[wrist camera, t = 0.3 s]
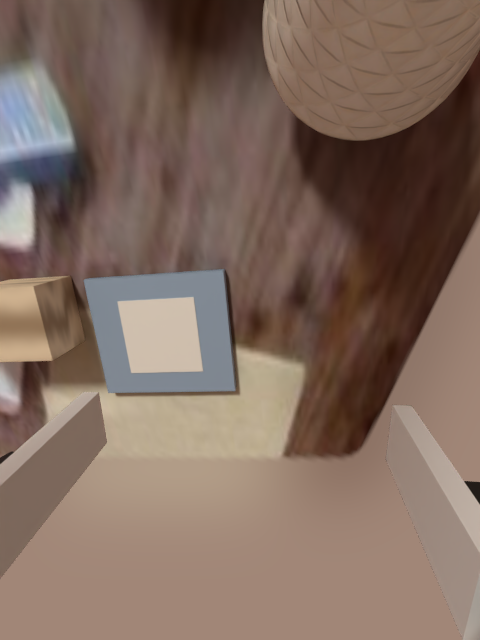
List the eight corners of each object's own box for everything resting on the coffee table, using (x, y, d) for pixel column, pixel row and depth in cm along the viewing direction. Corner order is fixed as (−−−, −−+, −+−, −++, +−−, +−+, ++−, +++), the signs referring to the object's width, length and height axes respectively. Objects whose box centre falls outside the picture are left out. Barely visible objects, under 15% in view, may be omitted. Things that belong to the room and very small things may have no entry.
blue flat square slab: (88, 278, 43) (83, 280, 42) (224, 269, 41) (223, 270, 39) (112, 388, 48) (108, 393, 46) (236, 386, 45) (235, 391, 44)
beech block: (10, 279, 45) (-38, 290, 38) (71, 275, 43) (33, 286, 37) (27, 342, 47) (-15, 362, 41) (85, 340, 46) (52, 360, 39)
